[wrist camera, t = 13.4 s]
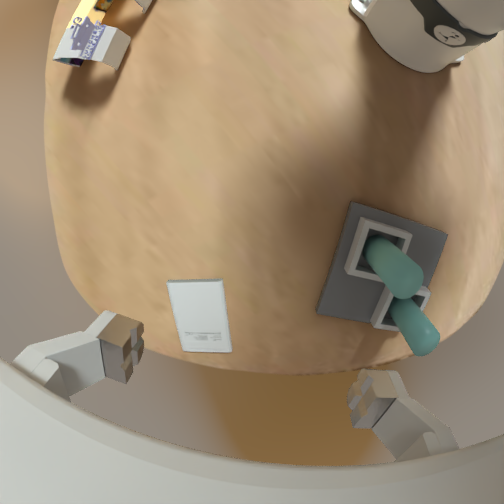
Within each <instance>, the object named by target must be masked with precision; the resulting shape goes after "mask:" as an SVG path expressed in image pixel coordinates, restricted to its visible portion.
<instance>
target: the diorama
mask: <svg viewBox="0 0 504 504" xmlns="http://www.w3.org/2000/svg"><path fill="white" fill-rule="evenodd" d="M112 1H113V0H82V1H81V3H80V4H79V6H78V8H77V10H76V11H75V13H74V15H73V17H72V19H71V21H70V23H69V25H68V27H67V29H66V31H65V33H64V35H63V37H62V39H61V41H60V44H59V46H58V48H57V50H56V53H55V55H54V58H53V60H54V61H57V62H61V63H64V64H67V65H72V66H77V67H80V66H81V64H82V62H83V59H85V60H95V61H100V62H103V63H105V64H107V65H110V66H112V67H114V69H115V70H118V68H119V66H120V63H121V61H122V59H123V56H124V54H125V52H126V50H127V48H128V45H129V43H130V39H131V37H130V36H128V35H127V34H125V33H124V32H122V31H121V30H119V29H118V28H115V27H111V26H106V25H105V24H103V25H104V26H103V25H101V21H102V19H103V17H104V16H105V13H106V12H107V10H108V8H109V7H110V5H111V3H112ZM135 1H136V2H137V3H138V4H139V5H141V7H143V11H142V12H143V13H144V14H145V12H146V11H147V9H148V7H149V5H150V4H151V2H152V0H135ZM99 25H101V26H99Z"/></svg>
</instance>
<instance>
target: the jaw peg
mask: <svg viewBox="0 0 504 504" xmlns="http://www.w3.org/2000/svg"><path fill="white" fill-rule="evenodd" d="M362 254H363V257H364V259H365V260H366V261H367V262H368V264H369V265H370V266H371V267H372V268H373V270H374V271H375V272H376V274H377V275H378V276H379V277H380V279H381V280H382V281H383V282H384V284H385V285H386V286H387V288H388V289H389V290H390V291H391V293H392V294H393V295H394V296H395V297H396V298H398V299H407V298H410V297H412V296H413V295H415V294H416V293H417V292H418V291H419V289H420V288H421V286H422V283H423V279H424V275H423V271H422V269H421V267H420V266H419V265H418V264H416V263H415V262H414V261H413V260H412V259H411V258H409V257H408V256H407V255H406V254H405V253H403V252H402V251H401V250H400V249H399V248H397V247H396V246H395V245H394V244H393V243H391V242H390V241H389V240H388V239H386V238H385V237H384V236H382V235H373V236H371V237H369V238H368V239H367V240H366V241H365V243H364V246H363V249H362Z"/></svg>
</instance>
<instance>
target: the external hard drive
mask: <svg viewBox="0 0 504 504" xmlns="http://www.w3.org/2000/svg"><path fill="white" fill-rule="evenodd" d="M166 283H167V288H168V292H169V297H170V301H171V306H172V310H173V314H174V318H175V322H176V326H177V330H178V334H179V338H180V341H181V345H182V349H183V351H189V352H232V341H231V335H230V328H229V320H228V313H227V306H226V299H225V291H224V284H223V279H192V280H168V281H167V282H166Z"/></svg>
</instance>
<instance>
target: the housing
mask: <svg viewBox="0 0 504 504" xmlns="http://www.w3.org/2000/svg"><path fill="white" fill-rule="evenodd" d="M373 235H382V236H384V237H385V238H386V239H388V240H389V241H390V242H391V243H393V244H394V245H395V246H396V247H397V248H399V249H400V250H401V251H402V252H403V253H405V254H406V255H407V256H408V257H409V258H411V259H412V260H413V261H414V262H415V263H416V264H418V265H419V266H420V267H421V269H422V271H423V275H424V279H423V283H422V286H421V288H420V289H419V291H418V292H417V293H416V294H415V295H413V296H412V297H410V298H407V299H398V298H396V297H395V296H394V295H393V294H392V293H391V291H390V290H389V289H388V288H387V286H386V285H385V284H384V282H383V281H382V280H381V279H380V277H379V276H378V275H377V274H376V272H375V271H374V270H373V268H372V267H371V266H370V265H369V264H368V262H367V261H366V260H365V259H364V257H363V254H362V249H363V246H364V243H365V241H366V240H367V239H368V238H369V237H371V236H373ZM447 236H448V234H446V233H444V232H442V231H439V230H437V229H434V228H431V227H428V226H426V225H423V224H420V223H417V222H415V221H412V220H409V219H406V218H403V217H400V216H397V215H394V214H391V213H388V212H385V211H382V210H379V209H376V208H372V207H369V206H366V205H363V204H359V203H356V202H353V201H351V202H350V205H349V209H348V212H347V216H346V219H345V223H344V226H343V229H342V233H341V236H340V239H339V242H338V246H337V249H336V252H335V255H334V258H333V261H332V264H331V267H330V270H329V273H328V276H327V279H326V282H325V285H324V287H323V290H322V293H321V296H320V299H319V301H318V304H317V307H316V313H317V314H321V315H326V316H332V317H337V318H343V319H348V320H354V321H360V322H366V323H371V324H372V325H373V327H374V328H377V329H384V330H390V331H397V332H401V333H402V335H403V336H404V338H405V340H406V341H407V343H408V345H409V346H410V348H411V350H412V351H413V353H414V354H415V355H416V356H424V355H427V354H429V353H430V352H432V350H434V349H435V348H436V346H437V345H438V343H439V340H440V334H439V332H438V331H437V329H436V328H435V327H434V326H433V324H432V323H431V322H430V320H429V319H428V318H427V317H426V315H425V314H424V313H423V310H424V308H425V306H426V304H427V302H428V299H429V297H430V295H431V292H430V291H429V290H428V289H427V288H428V285H429V283H430V281H431V278H432V276H433V274H434V271H435V269H436V266H437V264H438V261H439V258H440V256H441V253H442V250H443V247H444V245H445V242H446V239H447Z"/></svg>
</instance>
